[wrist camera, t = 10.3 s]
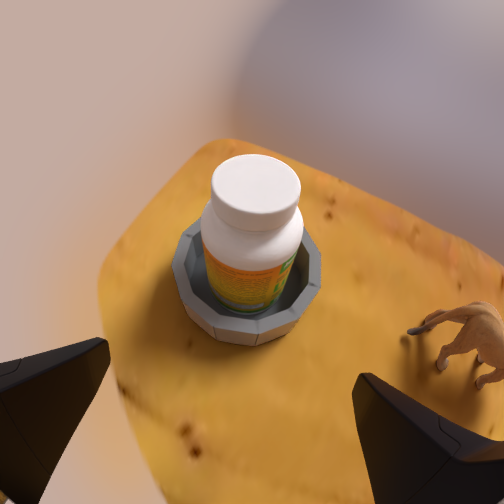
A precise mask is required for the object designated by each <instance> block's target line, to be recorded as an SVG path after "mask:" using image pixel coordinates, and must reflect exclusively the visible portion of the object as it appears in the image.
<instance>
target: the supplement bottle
mask: <svg viewBox="0 0 504 504" xmlns="http://www.w3.org/2000/svg"><path fill="white" fill-rule="evenodd" d="M300 191H301V185H300V181H299V178H298V176H297V175H296V173H295V172H294V171H293V170H292V169H291V168H290V167H289V166H288V165H286V164H285V163H283V162H282V161H280V160H277V159H275V158H272V157H269V156H265V155H257V154H248V155H240V156H236V157H233V158H231V159H228V160H226V161H224V162H223V163H222V164H220V165H219V166H218V167H217V169H216V170H215V171H214V173H213V176H212V179H211V199H210V200H209V201H208V203H207V204H206V206H205V208H204V210H203V213H202V217H201V237H202V243H203V250H204V256H205V263H206V270H207V276H208V283H209V287H210V290H211V293H212V295H213V297H214V298H215V300H216V301H217V302H218V303H219V304H220V305H221V306H222V307H224V308H225V309H227V310H229V311H231V312H234V313H237V314H243V315H251V314H257V313H260V312H263V311H265V310H267V309H268V308H270V307H271V306H272V305H274V304H275V302H276V301H277V300H278V299H279V297H280V295H281V293H282V291H283V288H284V285H285V283H286V280H287V277H288V275H289V272H290V269H291V267H292V264H293V261H294V259H295V256H296V253H297V250H298V248H299V245H300V242H301V239H302V235H303V219H302V215H301V213H300V210H299V208H298V207H297V204H298V201H299V196H300Z"/></svg>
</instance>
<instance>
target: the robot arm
mask: <svg viewBox="0 0 504 504" xmlns="http://www.w3.org/2000/svg"><path fill="white" fill-rule="evenodd" d="M110 361H111V357H110V351H109V344H108V341H107V340H106V339H103V338H99V337H96V338H92V339H89V340H86V341H82V342H79V343H75V344H72V345H68V346H65V347H62V348H58V349H54V350H50V351H47V352H43V353H39V354H36V355H32V356H28V357H24V358H23V359H21V358H20V359H16V360H12V361H8V362H3V363H0V504H5V503H6V501H7V500H8V499H9V500H10V501H11V502H12V503H14V504H38V503H39V501H40V499H41V497H42V495H43V493H44V490H45V488H46V486H47V484H48V482H49V480H50V478H51V475H52V473H53V471H54V469H55V467H56V465H57V463H58V462H59V460H60V458H61V456H62V454H63V452H64V450H65V448H66V446H67V445H68V443H69V441H70V439H71V437H72V435H73V433H74V432H75V430H76V428H77V426H78V425H79V423H80V421H81V419H82V418H83V416H84V414H85V412H86V411H87V409H88V407H89V405H90V404H91V402H92V400H93V399H94V397H95V395H96V393H97V391H98V389H99V387H100V385H101V382H102V380H103V378H104V375H105V373H106V371H107V369H108V367H109V365H110ZM352 400H353V406H354V413H355V420H356V426H357V431H358V435H359V439H360V443H361V447H362V451H363V454H364V458H365V462H366V466H367V470H368V475H369V479H370V483H371V487H372V492H373V496H374V501H375V504H504V441H494V440H491V439H488V438H486V437H483V436H481V435H479V434H476V433H474V432H472V431H470V430H467V429H465V428H463V427H461V426H459V425H457V424H455V423H453V422H451V421H449V420H448V419H446V418H444V417H442V416H441V415H438V414H437V413H436V412H434V411H432V410H430V409H429V408H427V407H425V406H424V405H422V404H420V403H419V402H417V401H415V400H414V399H412V398H410V397H409V396H407V395H406V394H404V393H402V392H401V391H399V390H397V389H396V388H394V387H393V386H391V385H389V384H388V383H386V382H385V381H383V380H381V379H380V378H378V377H377V376H375V375H374V374H372V373H360V374H359V376H358V378H357V380H356V383H355V385H354V388H353V390H352Z"/></svg>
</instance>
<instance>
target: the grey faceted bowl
mask: <svg viewBox="0 0 504 504" xmlns="http://www.w3.org/2000/svg"><path fill="white" fill-rule="evenodd" d="M171 266H172V269H173V273H174V277H175V280H176V284H177V287H178V291H179V294H180V297H181V300H182V303H183V305H184V307H185V309H186V312H187V314H188V316H189V317H190V318H191V319H192V320H193V321H194V322H195V323H197V324H198V325H199V326H200V327H201V328H202V329H203V330H204V331H206V332H207V333H208V334H210V335H211V336H212V337H213V338H215V339H217V340H218V341H224V342H228V343H232V344H238V345H249V346H254V345H255V346H257V345H259V344H262V343H265V342H269V341H272V340H274V339H276V338H278V337H280V336H282V335H285V334H287V333H289V332H290V331H291V330H292V328H293V327H294V326H295V324H296V323H297V322H298V320H299V319H300V318H301V316H302V315H303V313H304V312H305V311H306V309H307V308H308V306H309V305H310V303H311V302H312V300H313V299H314V297H315V296H316V294H317V293H318V291H319V290H320V288H321V253H320V252H319V250H318V248H317V247H316V245H315V243H314V242H313V240H312V239H311V237H310V235H309V234H308V232H307V230H306V229H305V227H304V226H303V235H302V239H301V242H300V245H299V248H298V250H297V253H296V256H295V259H294V261H293V264H292V267H291V269H290V272H289V275H288V277H287V280H286V283H285V285H284V288H283V291H282V293H281V295H280V297H279V299H278V300H277V301H276V302H275V304H274V305H272V306H271V307H270V308H268V309H267V310H265V311H263V312H260V313H257V314H251V315H243V314H237V313H234V312H231V311H229V310H227V309H225V308H224V307H222V306H221V305H220V304H219V303H218V302H217V301H216V300H215V298H214V297H213V295H212V293H211V290H210V287H209V283H208V276H207V270H206V263H205V256H204V250H203V243H202V237H201V217H200V218H199V219H198V220H197V221H196V222H194V223H193V224H192V225H191V226H190V227H189V228H187V229H186V230H185V231H184V232H183V234H182V235H181V238H180V241H179V243H178V246H177V249H176V252H175V255H174V258H173V261H172V264H171Z"/></svg>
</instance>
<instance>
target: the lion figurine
mask: <svg viewBox="0 0 504 504" xmlns="http://www.w3.org/2000/svg"><path fill="white" fill-rule="evenodd" d="M446 320H449V321H453V322H458V323H462V324H465V325H464V326H463V328H462V329H461V331H460V332H459V333H458V335H457V336H456V338H455V340H454V341H453V342H452V343H450V344H448V345H444V346H442V348H441V351H440V354H439V356H438V359H437V367H438V369H439V370H440V371H442V370H445V369H446V368H447V366H448V359H447V357H448V356H450V355H454V354H461V353H467V352H469V351H471V350H473V349H475V348H477V351H478V361H479V362H481V363H484V362H485V363H486V364H488V365H490V366H492V367H495V368H496V369H495V370H494V371H493V372H492V373H489V374H485V375H482V376H480V377H479V378H478V379H477V382H476V384H477V388H478V389H481V388H483V386H484V385H485V383H492V382H499V381H501V380H502V379H504V322H503V321H502V319H501V316H500V314H499V312H498V311H497V310H496V308H495V307H494V306H493V305H491V304H490V303H487V302H484V301H476V302H473V303H471V304H468V305H466V306H463V307H459V308H456V309H453V310H443V309H440V310H437V311H435V312H434V313H432V314H429V315H428V316H427V317H426V318H425V325H423V326H421V327H418V328H412V329H409V330H408V331H407V333H408V334H410V335H412V336H413V335H418V334H421V333H423V332H424V331H426V330H428V329H433V328H434V327H436V325H437V324H439V323H442V322H444V321H446Z"/></svg>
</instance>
